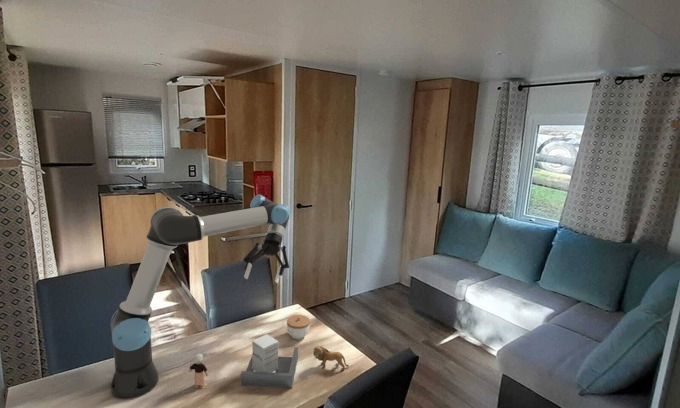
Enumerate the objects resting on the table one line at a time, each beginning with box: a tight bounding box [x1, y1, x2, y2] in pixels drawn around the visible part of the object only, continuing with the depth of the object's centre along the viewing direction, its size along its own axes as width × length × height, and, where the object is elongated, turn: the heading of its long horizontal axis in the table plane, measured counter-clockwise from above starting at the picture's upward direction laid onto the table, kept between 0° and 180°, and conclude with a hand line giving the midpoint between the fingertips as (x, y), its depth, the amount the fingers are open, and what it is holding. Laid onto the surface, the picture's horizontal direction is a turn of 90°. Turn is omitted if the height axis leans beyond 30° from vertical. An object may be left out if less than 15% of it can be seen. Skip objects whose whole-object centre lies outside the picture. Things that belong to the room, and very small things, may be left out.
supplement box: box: [251, 333, 279, 372], centre depth 141 cm, size 7×7×13 cm
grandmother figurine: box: [188, 353, 209, 390], centre depth 131 cm, size 8×4×13 cm, turn 90°
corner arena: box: [240, 347, 299, 389], centre depth 142 cm, size 19×18×5 cm
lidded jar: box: [286, 314, 311, 340], centre depth 167 cm, size 11×11×9 cm
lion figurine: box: [313, 345, 350, 372], centre depth 146 cm, size 15×5×9 cm, turn 93°
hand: (260, 280), depth 150 cm, fingers open, 13 cm apart
